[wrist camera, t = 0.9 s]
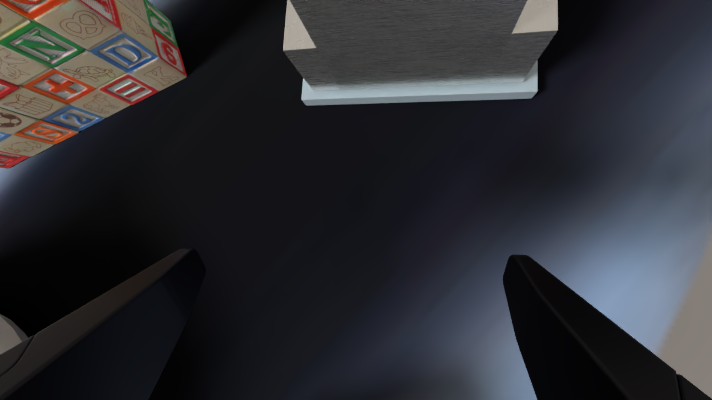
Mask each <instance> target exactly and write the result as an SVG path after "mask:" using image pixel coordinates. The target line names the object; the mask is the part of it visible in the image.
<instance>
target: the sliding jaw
mask: <svg viewBox="0 0 712 400" xmlns="http://www.w3.org/2000/svg"><path fill="white" fill-rule="evenodd" d="M557 31H558V0H287V10H286V22H285V33H284V45H283V51H284V52H285V54H286V55H287V57H288V58H289V59H290V61H291V62H292V63H293V65H294V66H295V67H296V69H297V70H298V71H299V73H300V74H301V75H302V77H303V78H304V79H305V81H306V82H307V83H308V85H309V86H310V87H311V89H312V90H313V91H327V90H351V89H375V88H399V87H423V86H447V85H471V84H495V83H519V82H523V80H524V79H525V77H526V76H527V74H528V73H529V71H530V70H531V69H532V67H533V66H534V64H535V63H536V61H537V60H538V58H539V57H540V55H541V54H542V53H543V51H544V50H545V48H546V47H547V45H548V44H549V42H550V41H551V39H552V38H553V37H554V35H555V34H556V32H557Z"/></svg>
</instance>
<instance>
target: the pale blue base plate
mask: <svg viewBox="0 0 712 400" xmlns="http://www.w3.org/2000/svg"><path fill="white" fill-rule="evenodd" d="M537 92H538V60H537V61H536V63H535V64H534V66H533V67H532V69H531V70H530V71H529V73H528V74H527V76H526V77H525V79H524V80H523V82H519V83H495V84H471V85H447V86H423V87H399V88H375V89H351V90H327V91H313V90H312V89H311V87H310V86H309V85H308V83H307V82H306V81H305V79H304V78H303V87H302V101H303V102H304V103H305V104H306V105H336V104H368V103H400V102H432V101H464V100H496V99H529V98H532V97H533V96H534V95H535V94H536V93H537Z"/></svg>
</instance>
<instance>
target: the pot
mask: <svg viewBox="0 0 712 400" xmlns="http://www.w3.org/2000/svg"><path fill="white" fill-rule="evenodd" d="M26 339H28V337H27V335H26V334H25V333H24V332H23V331H22V330H21V329H20V328H19V327H18V326H17V325H16V324H15V323H14V322H12V321H11V320H10V319H8V318H6V317H5V316H3V315H1V314H0V354H2V353H4V352H6V351H7V350H9V349H11V348H13V347H14V346H16V345H18V344H19V343H21V342H23V341H24V340H26Z"/></svg>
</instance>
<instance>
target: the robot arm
mask: <svg viewBox="0 0 712 400" xmlns="http://www.w3.org/2000/svg"><path fill="white" fill-rule="evenodd" d="M205 273H206V269H205V266H204V264H203V262H202V260H201V258H200V256H199V254H198V252H197V250H195V249H191V248H183V249H179V250H177V251H176V252H174V253H172V254H170V255H169V256H167V257H165V258H164V259H162V260H160V261H159V262H157V263H155V264H153V265H152V266H150V267H148V268H147V269H145V270H143V271H142V272H140V273H138V274H137V275H135V276H133V277H131V278H130V279H128V280H126V281H125V282H123V283H121V284H120V285H118V286H116V287H114V288H113V289H111V290H109V291H108V292H106V293H104V294H103V295H101V296H99V297H98V298H96V299H94V300H92V301H91V302H89V303H87V304H86V305H84V306H82V307H81V308H79V309H77V310H75V311H74V312H72V313H70V314H69V315H67V316H65V317H64V318H62V319H60V320H59V321H57V322H55V323H53V324H52V325H50V326H48V327H47V328H45V329H43V330H42V331H40V332H38V333H37V334H36V335H35V336H31V337H30V338H28V339H26V340H24V341H23V342H21V343H19V344H18V345H16V346H14V347H13V348H11V349H9V350H7V351H6V352H4V353H2V354H0V400H148V399H149V397H150V395H151V393H152V391H153V389H154V387H155V385H156V383H157V381H158V379H159V377H160V375H161V373H162V371H163V369H164V367H165V365H166V363H167V361H168V359H169V357H170V355H171V353H172V351H173V349H174V347H175V345H176V343H177V341H178V339H179V337H180V335H181V333H182V331H183V329H184V327H185V325H186V323H187V321H188V318H189V316H190V313H191V311H192V308H193V305H194V303H195V300H196V298H197V295H198V292H199V290H200V287H201V285H202V282H203V279H204V277H205ZM503 285H504V289H505V293H506V298H507V302H508V306H509V311H510V315H511V319H512V324H513V328H514V332H515V336H516V340H517V343H518V346H519V349H520V352H521V354H522V357H523V360H524V363H525V366H526V369H527V371H528V374H529V377H530V380H531V383H532V386H533V388H534V391H535V394H536V397H537V400H712V399H711V398H710V397H708V396H707V395H706V394H704V393H703V392H702V391H701V390H699V389H698V388H697V387H696V386H694V385H693V384H692V383H690V382H689V381H688V380H687V379H685V378H684V377H683V376H682V375H679V374H676V371H675V370H674V369H672V368H671V367H670V366H669V365H667V364H666V363H665V362H664V361H662V360H661V359H660V358H658V357H657V356H656V355H655V354H653V353H652V352H651V351H649V350H648V349H647V348H646V347H644V346H643V345H642V344H641V343H639V342H638V341H637V340H635V339H634V338H633V337H632V336H630V335H629V334H628V333H626V332H625V331H624V330H623V329H621V328H620V327H619V326H618V325H616V324H615V323H614V322H612V321H611V320H610V319H609V318H607V317H606V316H605V315H603V314H602V313H601V312H600V311H598V310H597V309H596V308H594V307H593V306H592V305H591V304H589V303H588V302H587V301H586V300H584V299H583V298H582V297H580V296H579V295H578V294H577V293H575V292H574V291H573V290H571V289H570V288H569V287H568V286H566V285H565V284H564V283H563V282H561V281H560V280H559V279H557V278H556V277H555V276H554V275H552V274H551V273H550V272H548V271H547V270H546V269H545V268H543V267H542V266H541V265H540V264H538V263H537V262H536V261H534V260H533V259H532V258H531V257H529V256H527V255H511V256H510V257H509V259H508V262H507V265H506V268H505V272H504V275H503Z"/></svg>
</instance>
